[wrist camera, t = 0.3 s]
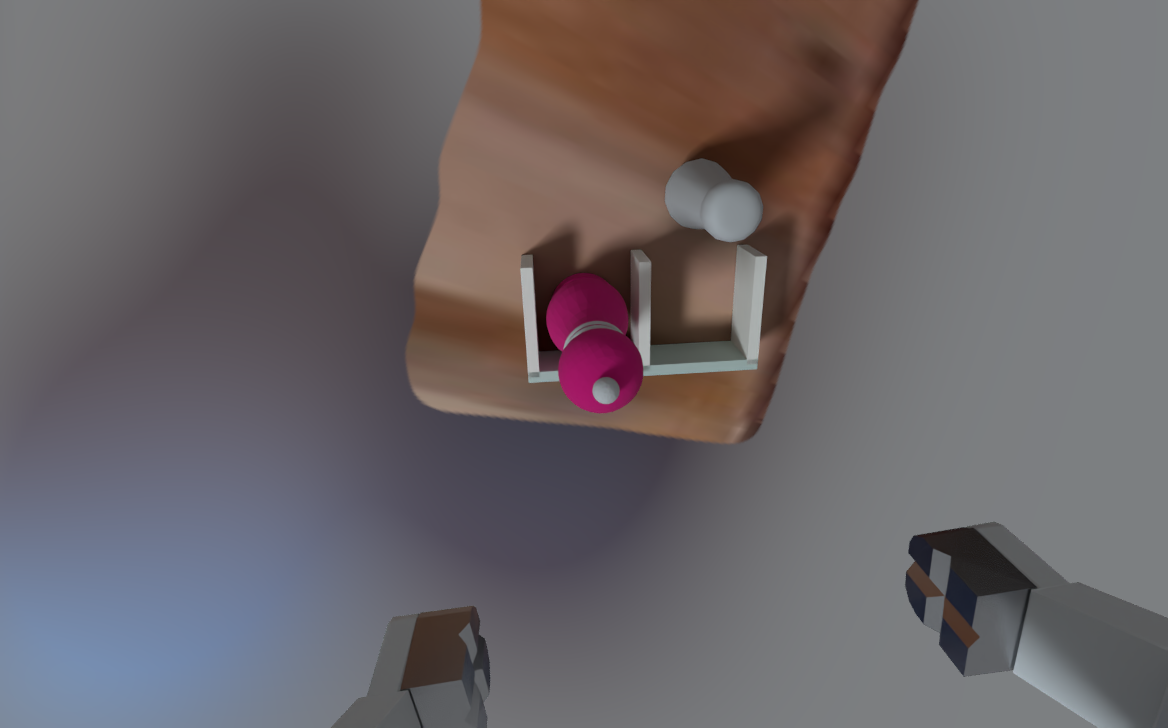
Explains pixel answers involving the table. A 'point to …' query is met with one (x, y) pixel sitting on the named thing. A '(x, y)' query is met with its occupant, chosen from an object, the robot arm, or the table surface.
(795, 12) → the table surface
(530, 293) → the condiment rack
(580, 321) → the pepper mill
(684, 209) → the salt shaker
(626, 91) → the table surface
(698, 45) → the table surface
